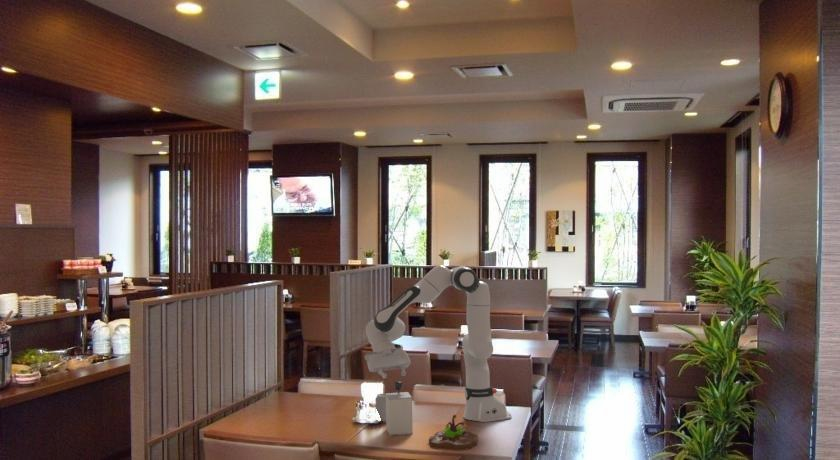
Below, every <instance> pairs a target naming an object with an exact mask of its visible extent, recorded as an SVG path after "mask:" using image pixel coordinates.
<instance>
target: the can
mask: <svg viewBox="0 0 840 460" xmlns="http://www.w3.org/2000/svg"><path fill="white" fill-rule="evenodd" d="M376 409H377V411H378V413H379V415H380V418H381V421H383V422H382V423H386V393H378V394H376V397H375V410H376Z"/></svg>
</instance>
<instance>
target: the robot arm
mask: <svg viewBox="0 0 840 460" xmlns="http://www.w3.org/2000/svg"><path fill="white" fill-rule="evenodd" d="M448 287H453V288H455V289H456V290H459V291H463V292H465V293H466V312H465V313H466V317H465V320H466V321H465V322H466V326H467V334H465V335H464V336H463V338H462V342H461V346H462V350H463V351H462V353H463V360H464V365H465V385H466V386H465V387H464V389H465V390H464V398H465V407H464V413H463V416H462V417H463V418H464V419H465V420H468V421H474V422H480V423H488V422H495V421H503V420H509V419H512V414H511V413H510V412H509V411H508V410H507V406H506V404H505V402H504V401H503V400H502V399H501V398H499V397H497V395H495V394H497V392H498V390H497V389H496V388H494V387H492V386H490V384H491V383H490V368H489V364H488V359H489V358H490V357H491V356H492V355H493V353H494V346H493V341H492V328H491V294H490V286H489V284H488V283H487V282H485V281H481V280H479V278H478V276H477V274H476V272H475V271H474V270H473V269H472V268H471V267H467V266H464V265H460V266H459V265H457V266H455V267H454V266H453V267H451V268H448V267H447V266H446V265H443V264H438V265H436V266H435V267H433V268H432V269H431V270H430V271H428V272H427V273H426V274H425V275H424V276H423V277H422V278H421V279H420V280H419V281H418V282H417V283H415V284H414V285H412V286H409V287H408V288H407V289H406V290H404V291H403V292H401V294H400V295H398V296H397V297H396V298H394V300H393V301H392V302H390V303H389V304H388V305H387V306H385V307H383V308H382V309H380V310H378V311H377V312H376V314H375V316H374V319H372V320H370V321H368V323H367V324H366V326H365V334H366V337H367V340H368V343H369V344H370V345H371V348H372V352H367V353H366V354H365V355H364V359H365V361H366V364H367V368H368V371H369V372H370V373H376V372H377V373H378V375H380V376H381V377H382V379H387V378H388V375H387V373H385V371H390V370H392V371H393V370H398V369H400V370H401V372H400V375H401V377H405V376H406V375H407V373H406V369H407V368H409V366H410V365H411V362H412V361H411V359H410V357H409V354H408V353H407V351H405V350H404V346H403V345H402V344H400V343H399V344H398V343H393V342H394V341H396V340H398V339H400V338H402V337H403V336H404V335H405V332H406V330H407V329H406V328H407V327H406V324H405V323H404V321H403V320H402V319H401V318H399V315H400V314H401V313H402V312H403V311H404V310H406V308H408V307H409V306H410V305H412V304H414V303H422V304H430V303H432V302H434V301H435V300H436V299H437V298H438V297H439V296H441V294H442V293H443V292H444V291H445V289H447V288H448Z"/></svg>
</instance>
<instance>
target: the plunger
mask: <svg viewBox="0 0 840 460" xmlns="http://www.w3.org/2000/svg"><path fill="white" fill-rule="evenodd" d="M403 383H404V382H403V381H402V380H395V381H394V390H396V391H397V392H396V393H397V396H400V392H401V390H403V387H404V384H403Z"/></svg>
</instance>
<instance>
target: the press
mask: <svg viewBox="0 0 840 460" xmlns="http://www.w3.org/2000/svg"><path fill="white" fill-rule="evenodd" d="M385 394H386V422H385V423H386V424H385V425H386V427H385V430H386V432H387V433H388V435H389V437H391V436H392V437H393V436H405V435H413V432H414V431H413V428H414V427H413V396H412V395H411V394H410V392H408V391H405V392H404V391H403V392H402V391H400V396H397V392H389V393H387V392H386V393H385Z"/></svg>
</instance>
